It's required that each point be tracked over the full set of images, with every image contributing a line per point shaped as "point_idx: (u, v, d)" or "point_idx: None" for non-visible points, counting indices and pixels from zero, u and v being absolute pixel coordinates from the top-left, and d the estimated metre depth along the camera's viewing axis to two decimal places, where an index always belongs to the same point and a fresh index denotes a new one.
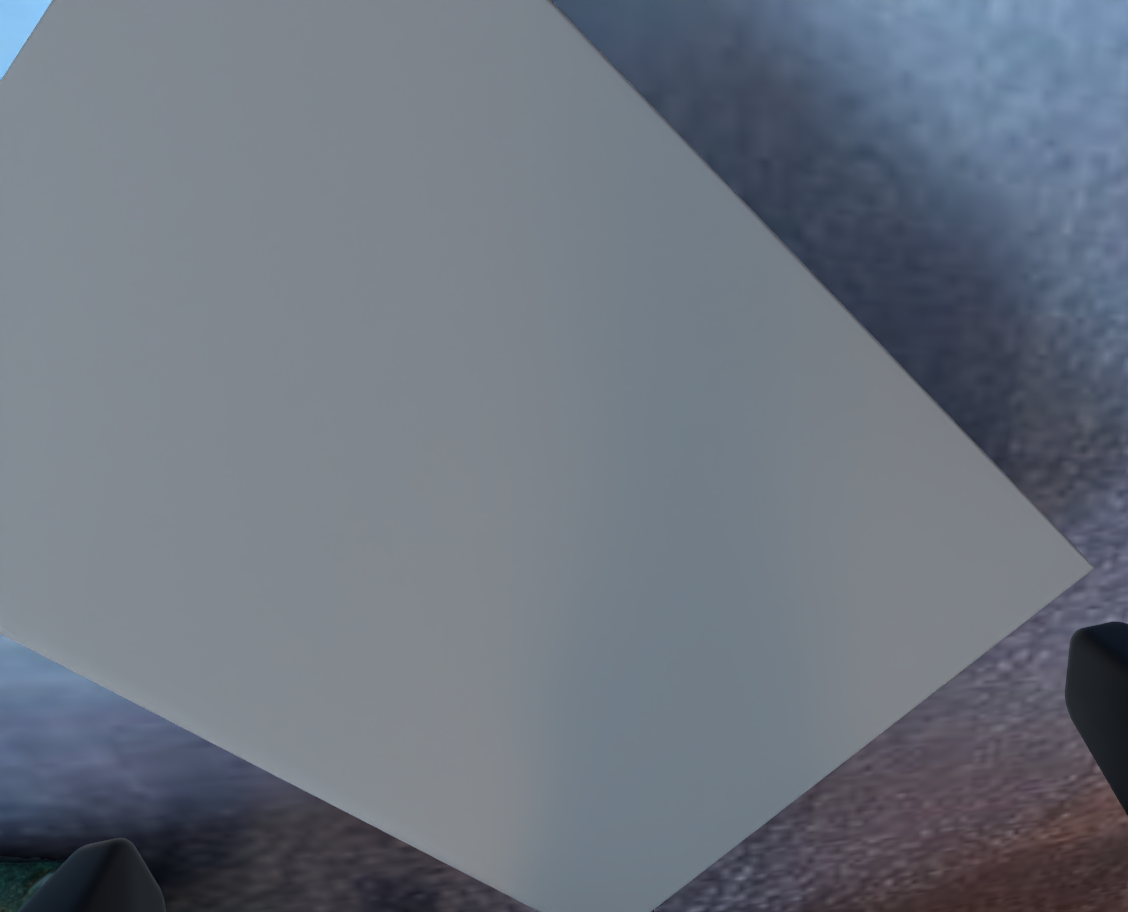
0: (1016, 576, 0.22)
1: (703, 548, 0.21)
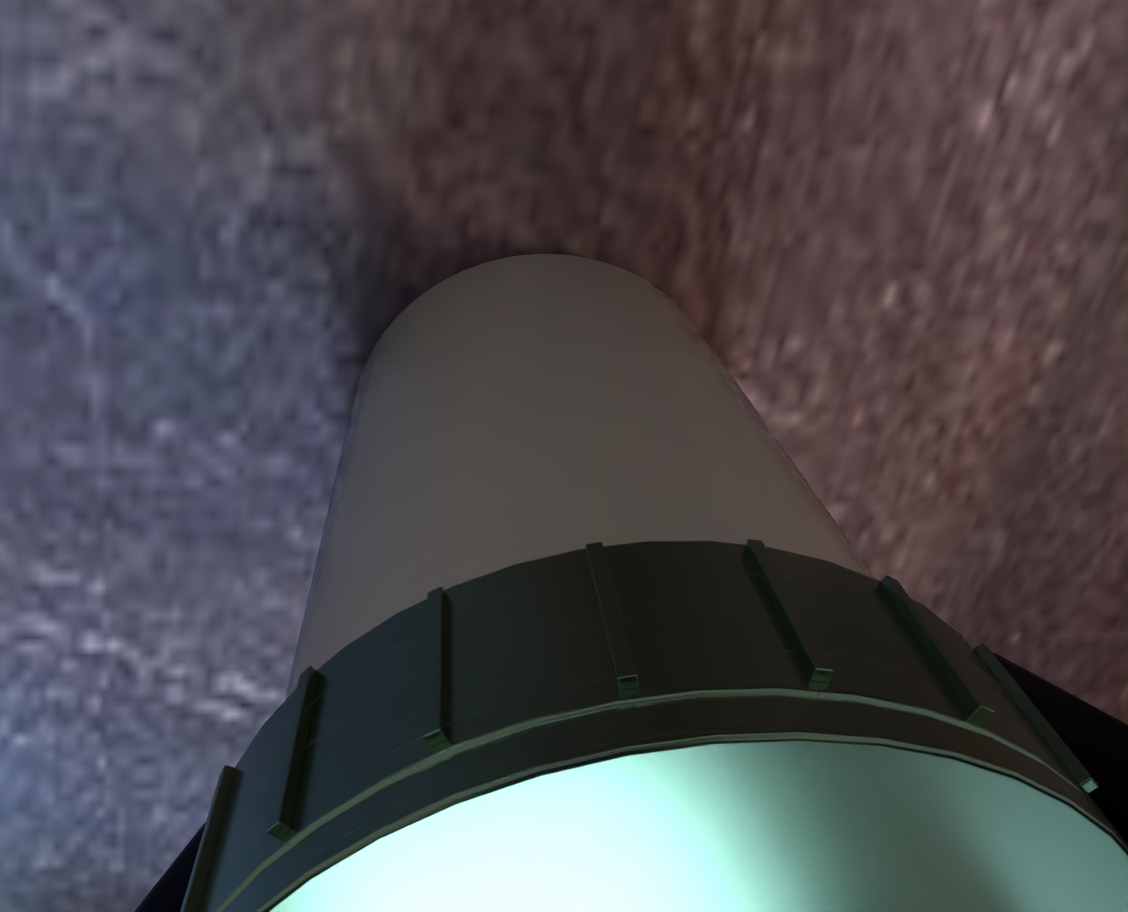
0: None
1: None
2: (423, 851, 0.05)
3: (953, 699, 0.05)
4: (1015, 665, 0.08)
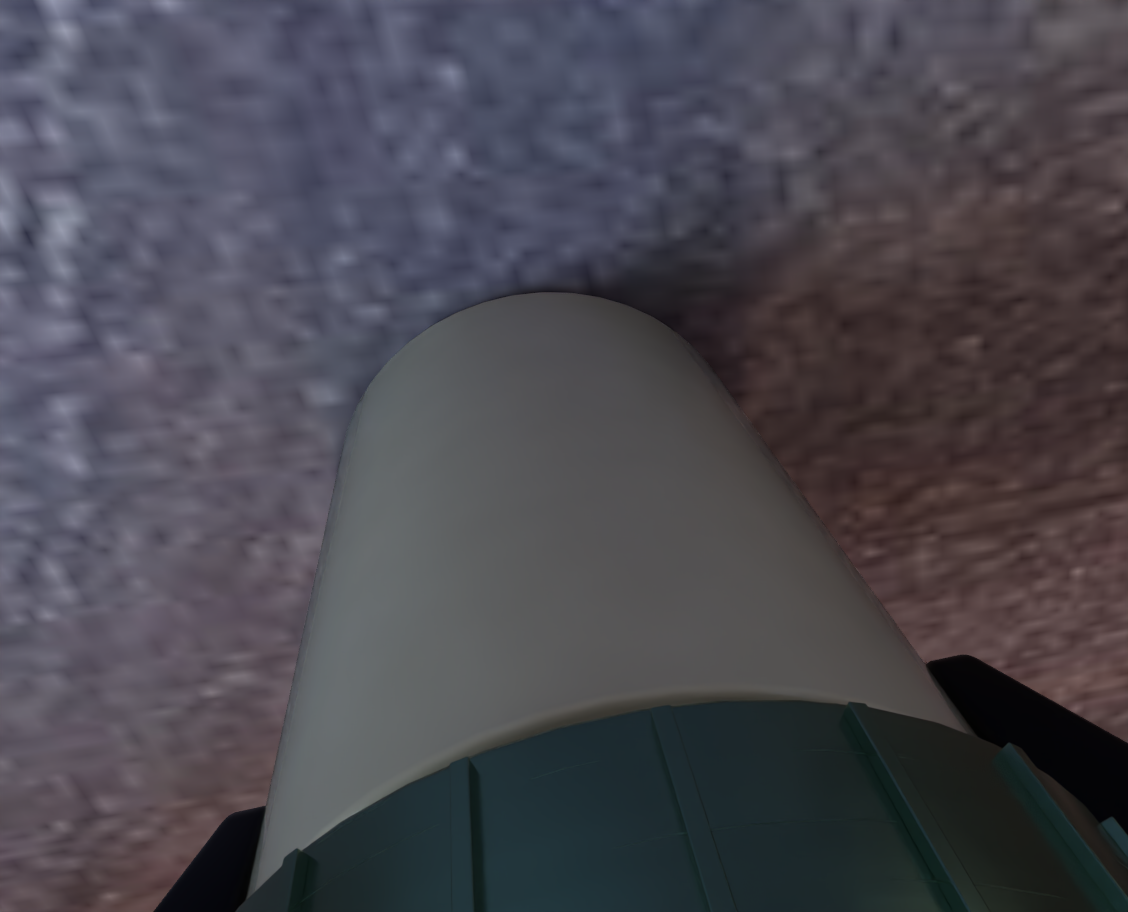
0: None
1: None
2: None
3: None
4: (994, 669, 0.08)
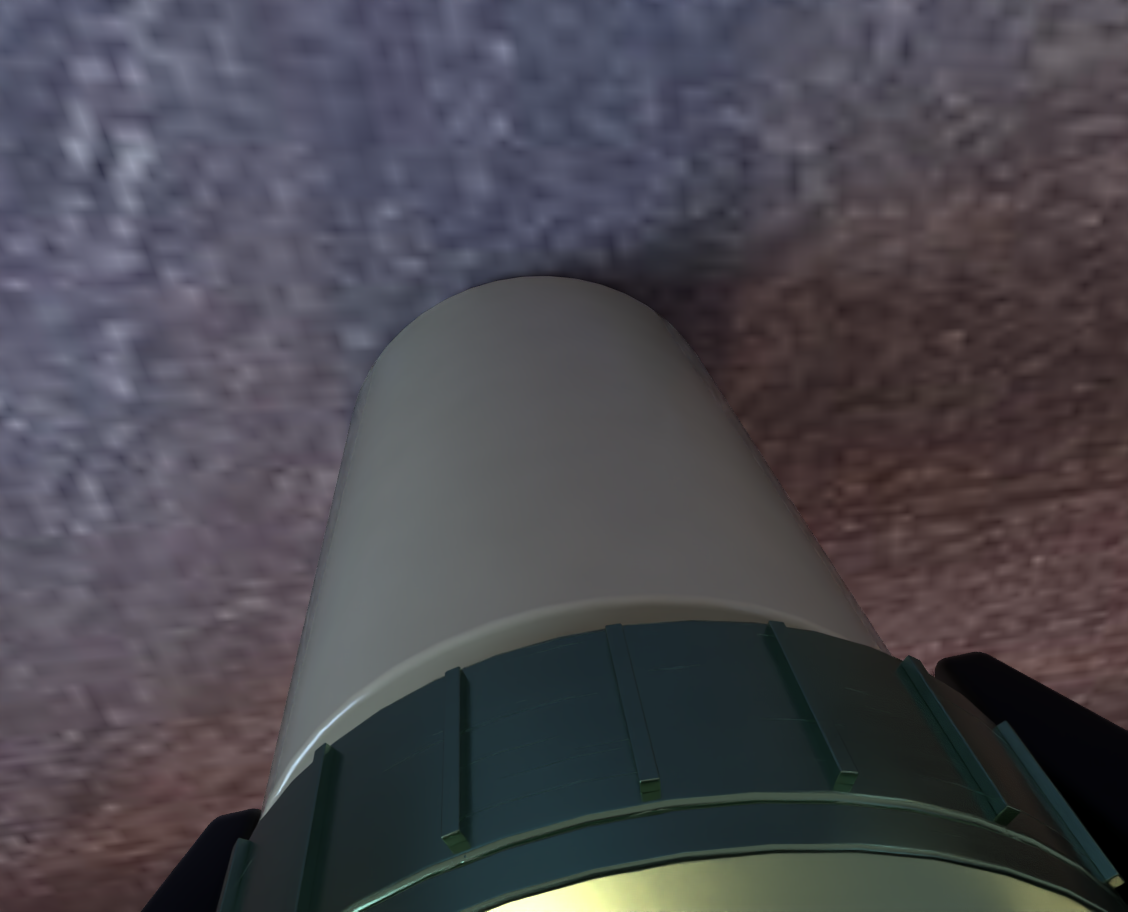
0: None
1: None
2: None
3: None
4: (1008, 667, 0.08)
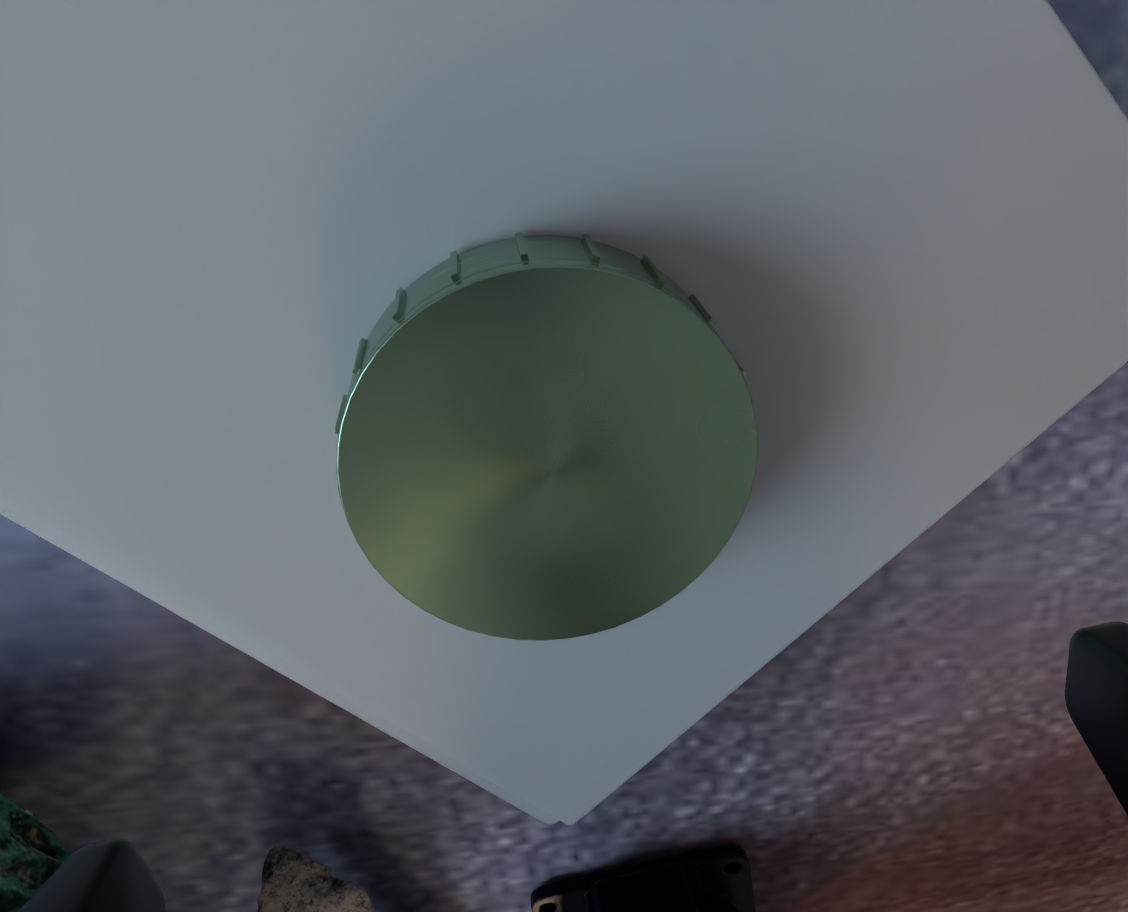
0: (1126, 281, 0.16)
1: (688, 211, 0.15)
2: (359, 512, 0.14)
3: (391, 323, 0.13)
4: None
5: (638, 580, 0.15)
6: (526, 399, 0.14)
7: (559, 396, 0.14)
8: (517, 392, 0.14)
